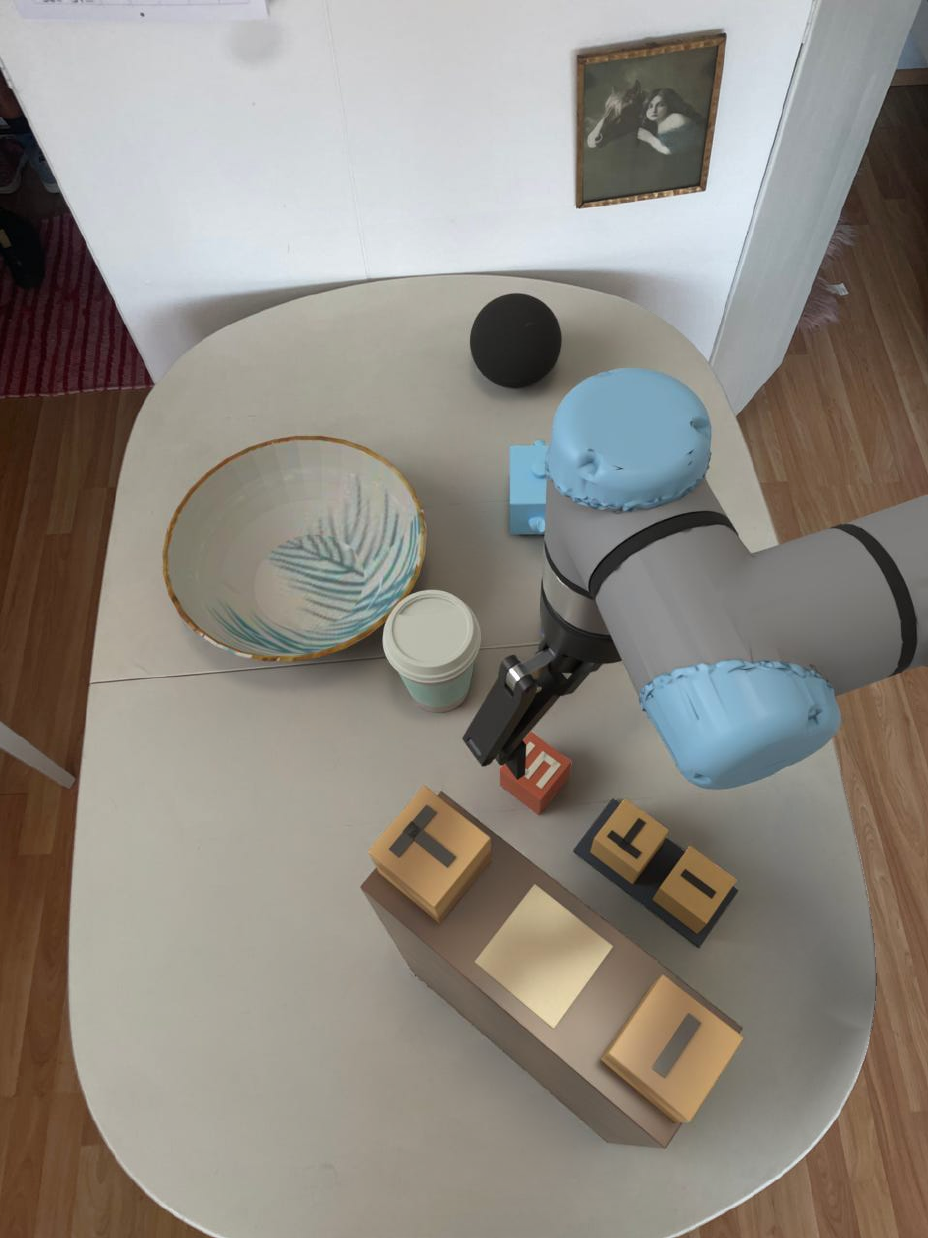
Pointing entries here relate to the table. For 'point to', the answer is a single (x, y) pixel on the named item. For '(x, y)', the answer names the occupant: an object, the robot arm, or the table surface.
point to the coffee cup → (433, 647)
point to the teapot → (528, 488)
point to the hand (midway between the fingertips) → (581, 716)
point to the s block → (537, 774)
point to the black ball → (515, 340)
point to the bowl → (294, 548)
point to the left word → (657, 870)
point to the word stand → (546, 975)
